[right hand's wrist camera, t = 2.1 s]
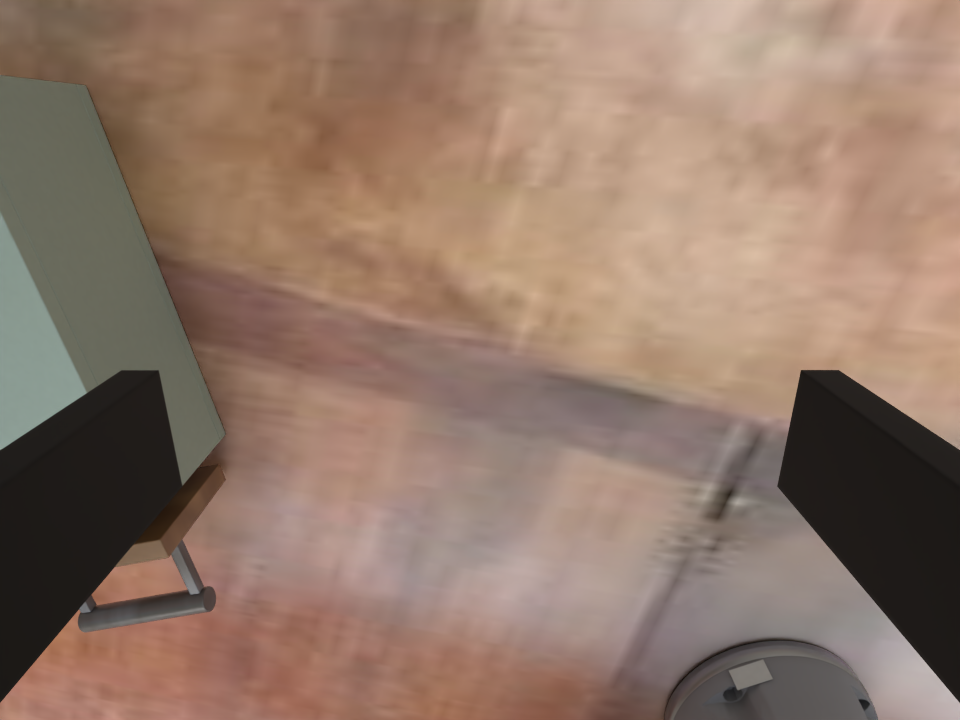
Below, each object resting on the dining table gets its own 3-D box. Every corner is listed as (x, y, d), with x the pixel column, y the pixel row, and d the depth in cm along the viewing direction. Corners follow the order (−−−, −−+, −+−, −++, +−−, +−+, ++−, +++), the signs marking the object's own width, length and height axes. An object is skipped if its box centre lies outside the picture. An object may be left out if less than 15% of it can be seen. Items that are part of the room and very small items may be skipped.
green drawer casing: (226, 434, 38) (150, 524, 29) (83, 461, 39) (-32, 557, 30) (86, 84, 31) (-71, 66, 22) (-86, 125, 32) (-303, 123, 23)
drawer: (253, 546, 40) (205, 634, 33) (134, 567, 41) (62, 658, 34) (96, 165, 32) (-15, 174, 24) (-53, 198, 32) (-203, 217, 25)
